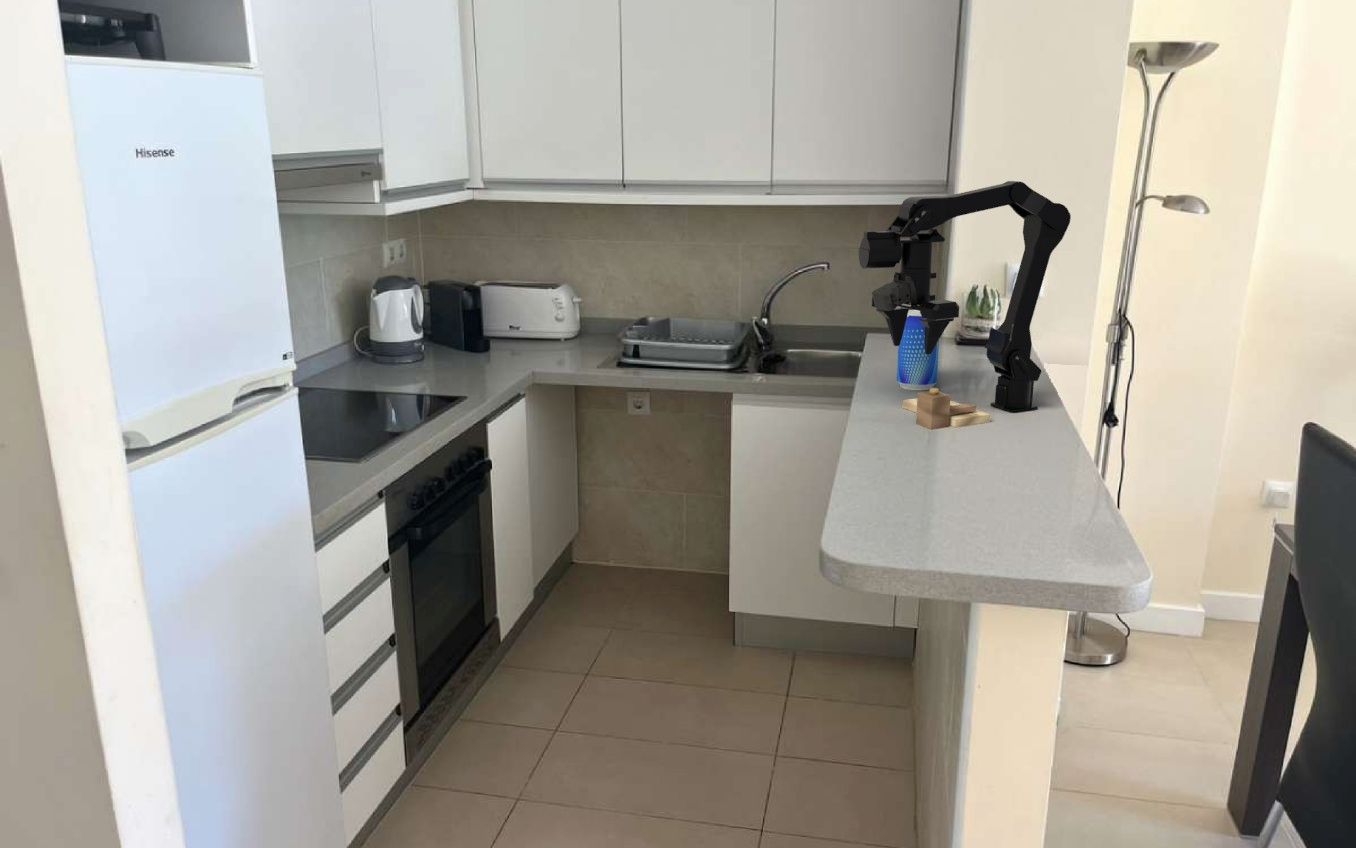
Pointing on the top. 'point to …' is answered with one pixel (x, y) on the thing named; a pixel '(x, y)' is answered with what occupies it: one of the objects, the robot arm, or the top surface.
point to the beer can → (916, 357)
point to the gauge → (937, 409)
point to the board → (955, 419)
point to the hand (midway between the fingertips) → (912, 349)
